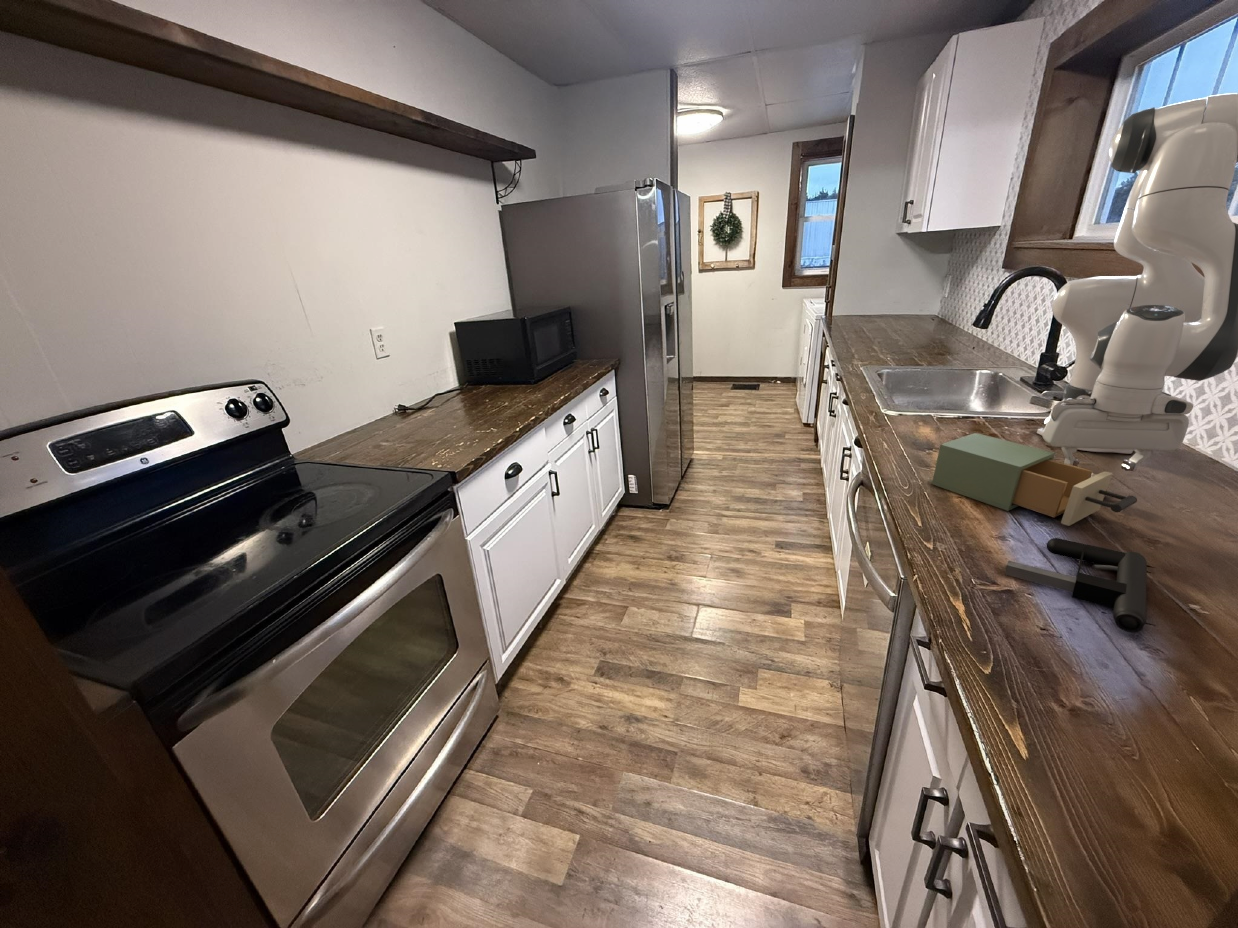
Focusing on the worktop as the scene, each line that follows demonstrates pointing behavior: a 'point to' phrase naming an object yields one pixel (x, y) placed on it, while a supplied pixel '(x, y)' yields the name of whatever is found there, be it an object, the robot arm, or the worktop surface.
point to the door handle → (1097, 580)
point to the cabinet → (985, 468)
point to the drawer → (1065, 491)
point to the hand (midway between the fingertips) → (1098, 468)
